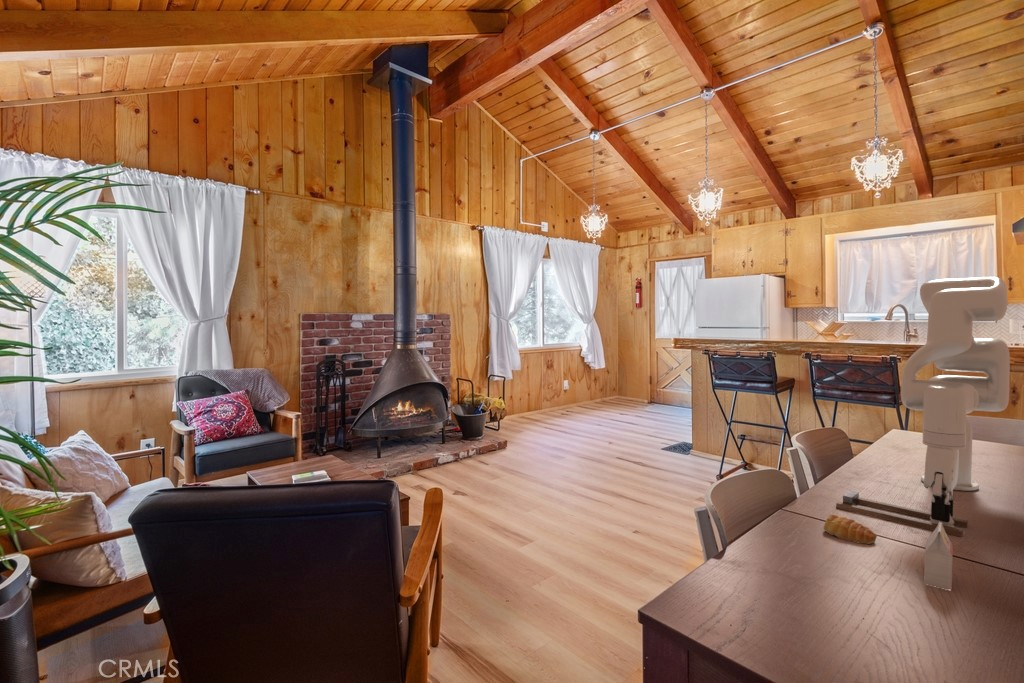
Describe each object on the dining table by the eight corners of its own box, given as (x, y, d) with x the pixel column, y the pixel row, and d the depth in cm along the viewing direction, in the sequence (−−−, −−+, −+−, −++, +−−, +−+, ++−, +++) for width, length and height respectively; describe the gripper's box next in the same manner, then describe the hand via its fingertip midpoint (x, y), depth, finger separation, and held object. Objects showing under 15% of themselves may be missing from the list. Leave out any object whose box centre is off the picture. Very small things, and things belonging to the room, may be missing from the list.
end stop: (849, 501, 132) (849, 490, 132) (858, 503, 131) (858, 492, 130) (842, 507, 128) (842, 495, 128) (851, 509, 127) (852, 497, 127)
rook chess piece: (959, 530, 113) (960, 495, 113) (936, 529, 114) (937, 494, 114) (946, 523, 118) (947, 489, 117) (924, 521, 119) (925, 488, 118)
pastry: (881, 541, 109) (882, 523, 109) (868, 549, 105) (868, 531, 105) (834, 526, 117) (834, 510, 117) (820, 534, 113) (820, 517, 113)
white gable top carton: (924, 584, 90) (925, 529, 90) (926, 570, 96) (927, 518, 95) (951, 591, 88) (952, 535, 88) (951, 577, 93) (953, 523, 93)
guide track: (847, 499, 134) (847, 494, 134) (967, 525, 116) (968, 520, 116) (836, 507, 128) (836, 503, 128) (961, 537, 110) (961, 531, 110)
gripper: (929, 431, 124) (928, 505, 124) (915, 442, 113) (913, 523, 113) (970, 436, 118) (969, 513, 119) (959, 448, 107) (957, 533, 108)
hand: (942, 517), depth 116 cm, fingers closed on rook chess piece, 3 cm apart
